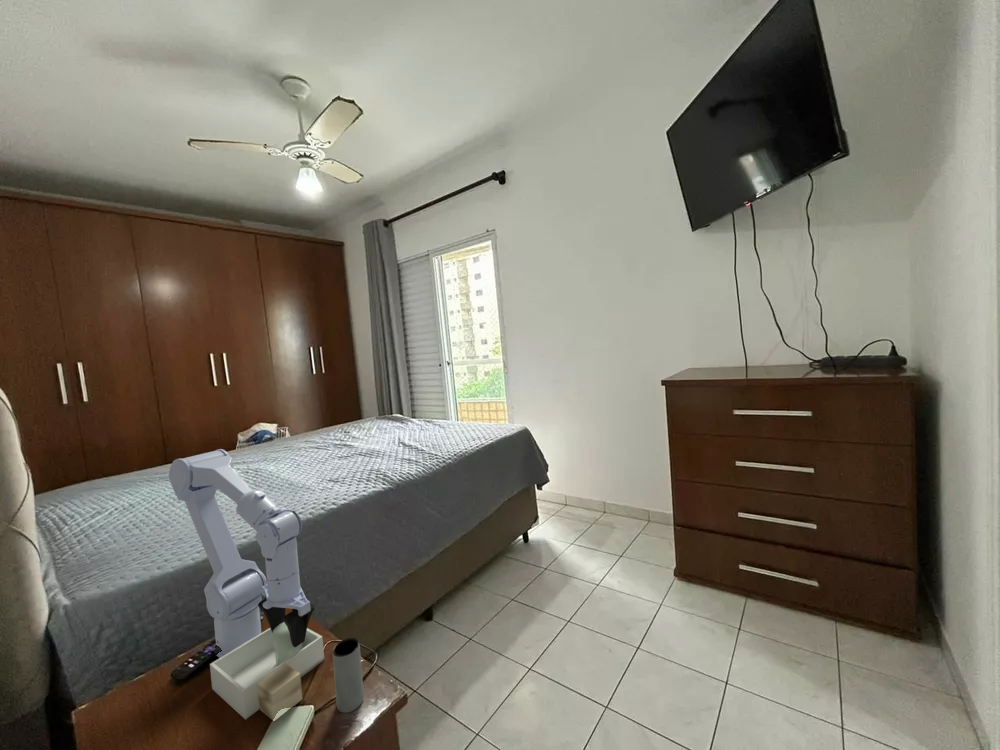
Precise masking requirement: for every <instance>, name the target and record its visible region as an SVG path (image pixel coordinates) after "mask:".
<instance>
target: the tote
mask: <svg viewBox="0 0 1000 750" xmlns="http://www.w3.org/2000/svg"><path fill="white" fill-rule="evenodd" d="M323 661H325V651H324V639H323V635H320V634H319V633H317V632H316V631H314V630H311V629H310V628H308V627H307V631H306V636H305V641H304V642H303V649H301V650H300V651H298V652H297V653H295V654H294V655H293V656H291V657H290V658H288V659H287V660H285V661H284V662H282V663H281V664H280V665H278V666H277V667H276V657H275V648H274V638H273V633H272V631H271V628H270V627H269V628H267V629H266V630H264V631H261V634H259V635H257V636H256V637H254V638H252V639H251V640H249V641H247V642H246V643H244V644H242V645H241V646H239V647H237V648H236V649H234V650H232V651H231V652H229V653H228V654H226V655H224V656H223V657H221V658H219V657H218V659H216V660H214V661H212V662H211V663H209V667H210V682H211V688H212V691H214V692H215V693H216V694H217V695H218V696H219V697H220V698H221V699H222V700H223V701H225V703H227V704H228V706H230V707H231V708H232V709H233V710H235V712H237V714H238V715H240V716H241V717H242V718H243V719H244V720H247V719H249V717H251V716H253V715H254V714H255V713H256V712H257V711H260V709H259V698H258V687H257V683H258V682H259V681H261V680H262V679H264V678H265V677H266V676H268V675H269V674H271V673H272V672H274V671H275V670H276V669H278V668H279V667H281V666H282V665H283V664H287V665H288V666H290V667H291V668H293V669H294V670H296V671H297V672H299V673H300V677H301V678H302V677H304V676H305V675H307V674H308V673H309V672H311V671H312V670H313V669H315V668H316V667H317V666H318V665H319V664H321V663H322V662H323Z"/></svg>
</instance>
